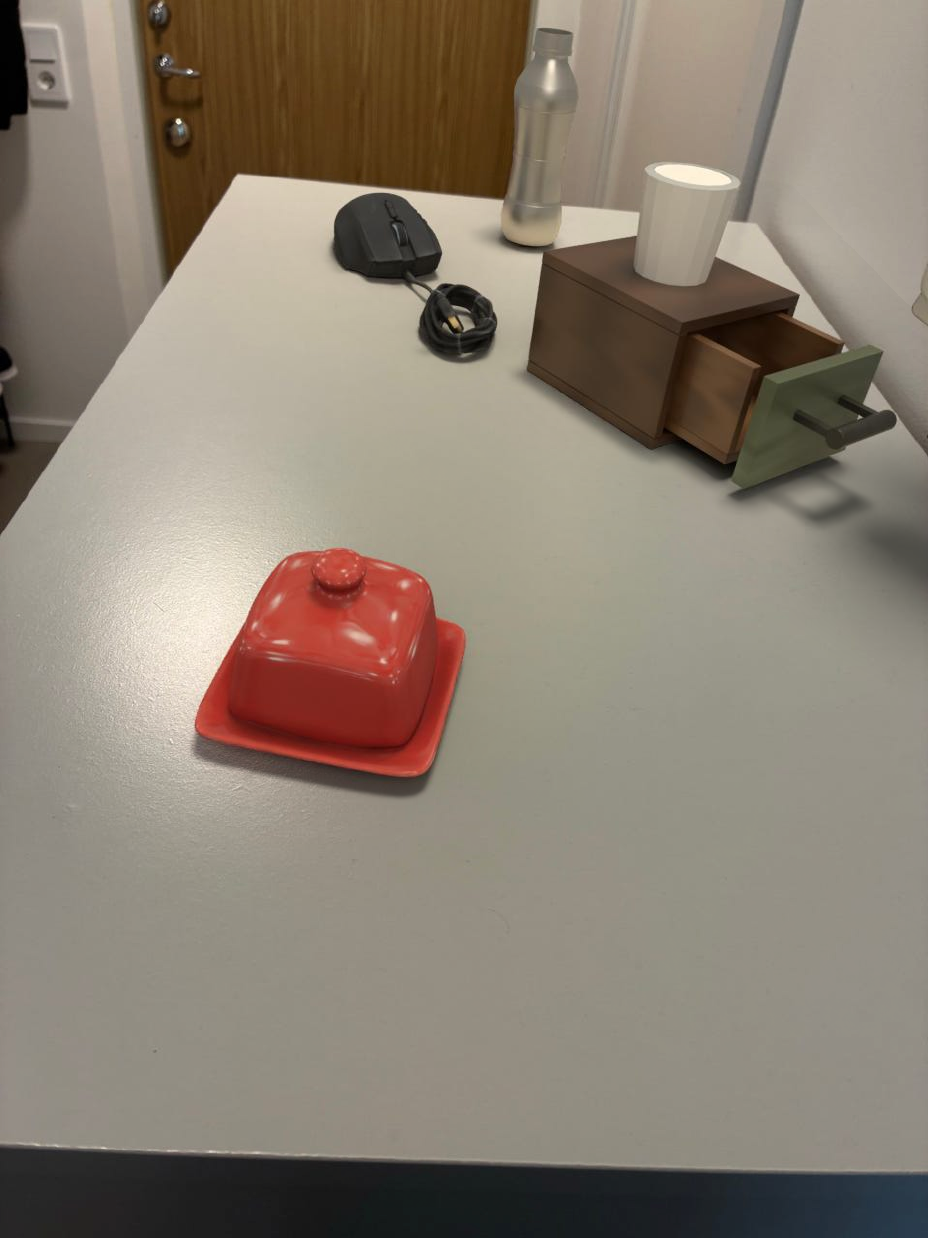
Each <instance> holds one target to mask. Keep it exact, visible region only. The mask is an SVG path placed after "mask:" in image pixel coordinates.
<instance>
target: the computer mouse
mask: <svg viewBox="0 0 928 1238" xmlns="http://www.w3.org/2000/svg"><path fill="white" fill-rule="evenodd" d="M333 248H334V252H335V255H336V256H337V258H338V259H339V260H340V262H341V264H342V265H343V266H344V267H345V268H346V269H348V270H352V271H356V272H360V273H362V274H363V275H365V276H367V277H379V278H397V279H398V278H405V280H407V282H408V283H412V284H415V286H416V285H417V286H419V287H421V288H423V289H425V290H426V291H428V292H429V295H428V297H427V299H426V302H425V305H424V307H423V310H422V311H421V314H420V316H419V319H418V320H419V322H418V323H419V327H420V329H421V331H422V332H423V334H424V335H425V336H426V338H427V340H428V342H429V343H430V345H431V346H432V347H433V348H434V349H436V350H438V351H442V352H447V353H452V354H471V353H472V354H473V353H475V352H477V351H481V350H484V349H486V347H488V346H489V345H490V344H491V343H492V342H493V339H494V336H495V332H496V330H497V328H498V316H497V315H496V313H495V311H494V307H493V306H494V305H493V302H492V301H491V300H490V299H489V298H487V297H485V296H484V295H483V294H482V293H480V292H479V291H478V290H476V289H474V288H473V287H471V286H469V285H466V284H459V283H458V284H453V283H451V282H450V283H447V282H444V283H440V284H439V285H437V287H436V288H435V289H432V287H431V286H429V285H428V284H426V283H425V282H422V281H420V280H418V279H416V278H415V277H417V276H422V275H426V274H430V273H433V272H435V271H437V269H438V267H439V264H440V263H441V260H442V255H443V250H442V247H441V244H440V241H439V238H438V237H437V235H436V233H435V232H434V230H433V229H432V228H431V226H430V225H429V224H428V221H427V220H426V219H425V218H424V217H423V216H422V214H421V213H419V212H418V210H417V209H416V208H415V207H414V206H413V205H412V204H411V203H410V202H409V201H408V200H407V199H406V198H404V197H403V196H400V195H398V194H396V193H390V192H371V193H365V194H362V195H359V196H357V197H354V198H353V199H351V200H350V201H348V202H347V203H345V204H344V205H343V206H341V208H340V209H339V210H338V211H337V213H336V215H335V218H334V221H333ZM453 306H454V307H459V308H463V309H466V310H467V311H469V312H470V313H471V314H472V316H473V318H474V321H475V324H476V326H474V327H472V328H471V327H470V329H467V330H465V331H464V329H465V328H464V327H465V326H464V325H463V323H462V321H461V319H460V318H459V315H458V314H457V311H455V309H454V307H453ZM443 324H445V325H447V328H448V329H449V330H450V332H448V331H446V330H444V329H443V327H442V326H443Z"/></svg>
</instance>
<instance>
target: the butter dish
mask: <svg viewBox="0 0 928 1238" xmlns="http://www.w3.org/2000/svg"><path fill="white" fill-rule="evenodd" d="M434 600H435V599H434V595H433V591H432V588H431V586H430V584H429V582H428V581H427V580H426V578H425V577H423V576H422V575H421V574H419V573H418V572H416V571H414V570H412V569H409V568H406V567H404V566H401V565H398V564H396V563H392V562H389V561H385V560H382V559H379V558H373V557H369V556H365V555H364V556H363V555H361V554H360V553H359V552H357V551H355V550H353V549H349V548H344V547H333V548H328V549H325V550H306V551H297V552H294V553H292V554H289V555H288V556H286V557H284V558H283V559H282V560H281V561H280V562H278V564H277V565H276V566H275V567H274V568H273V570H272V571H271V573H270V574H269V575H268V577H267V578H266V579H265V580H264V583H263V584H262V586H261V588H260V589H259V591H258V593H257V594H256V596H255V598H254V600H253V602H252V604H251V606H250V609H249V611H248V613H247V615H246V618H245V621H244V623H243V624H242V626H241V627H240V629H239V631H238V633H237V634H236V637H235V638H234V640H233V641H232V643H231V645H230V646H229V649H228V650H227V652H226V654H225V656H224V657H223V659H222V661H221V663H220V665H219V666H218V668H217V670H216V672H215V674H214V676H213V678H212V679H211V681H210V683H209V685H208V688H207V689H206V691H205V693H204V695H203V697H202V699H201V702H200V704H199V706H198V709H197V712H196V715H195V719H194V729H195V732H196V733H197V735H199V736H200V737H202V738H204V739H206V740H209V741H212V742H216V743H221V744H223V745H229V746H232V747H239V748H244V749H248V750H253V751H257V752H263V753H268V754H273V755H278V756H283V757H288V758H292V759H297V760H302V761H307V762H313V763H319V764H322V765H327V766H328V765H329V766H334V767H338V768H343V769H348V770H356V771H359V772H365V773H370V774H375V775H383V776H390V777H397V778H416V777H419V776H422V775H424V774H425V773H427V772H428V771H429V769H430V768H431V766H432V765H433V762H434V760H435V758H436V755H437V751H438V748H439V746H440V742H441V738H442V734H443V732H444V727H445V723H446V720H447V717H448V713H449V709H450V706H451V703H452V699H453V696H454V691H455V688H456V683H457V681H458V677H459V674H460V673H459V672H460V669H461V665H462V663H463V659H464V654H465V650H466V642H467V637H466V633H465V630H464V629H463V628H462V627H461V626H460V625H458V624H457V623H455V622H453V621H449V620H448V619H444V618H440V617H437V614H436V609H435V608H436V607H435V601H434Z"/></svg>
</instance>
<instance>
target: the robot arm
mask: <svg viewBox="0 0 928 1238" xmlns="http://www.w3.org/2000/svg"><path fill="white" fill-rule="evenodd" d="M920 280H921V281H920V286H919V290H920V293H919V295H918V296H917V297H916V299H915V300H914V302H913V303H912V306H911V313H912V315H913V316H914V317H915V318H916V319H918V320H919V321H920V322H922V323H923V324H924V325H925V326H926V327H928V261H927V262H926V265H925V268H924V271H923V273H922V277H921V279H920ZM926 438H927V439H928V434H927V435H926Z"/></svg>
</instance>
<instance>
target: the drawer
mask: <svg viewBox="0 0 928 1238" xmlns="http://www.w3.org/2000/svg"><path fill="white" fill-rule="evenodd" d="M845 344H846V342H845V341H844V340H842V339H840V338H837V337H835V336H833V335H831V334H829V333H826V332H824V331H823V330H820V329H818V328H816V327H814V326H811V325H809V324H808V323H805V322H803V321H801V320H799V319H797V318H794V317H793V318H792V317H790V316H788V315H786V314H784V313H782V312H780V311H774V312H770V313H766V314H762V315H758V316H754V317H750V318H745V319H741V320H737V321H733V322H729V323H725V324H721V325H717V326H713V327H709V328H705V329H701V330H697V331H693V332H689V333H687V337H686V341H685V345H684V349H683V353H682V357H681V361H680V365H679V369H678V373H677V377H676V381H675V385H674V389H673V393H672V397H671V401H670V405H669V409H668V413H667V417H666V421H665V425H664V427H665V428H666V429H668V430H669V431H671V432H673V433H674V434H676V435H678V436H679V437H681V438H682V439H681V440H684V441H685V442H688V443H689V444H690V445H692V446H694V447H696V448H697V449H699V450H700V451H702V452H704V453H705V454H707V455H709V456H710V457H712V458H713V459H715V460H716V461H718V462H720V463H721V464H723V465H728V464H729V463H733V462H736V465H735V467H734V469H733V470H734V471H733V472H732V477H731V479H730V480H731V482H732V483H733V484H735V485H736V486H738V487H739V488H741V489H743V490H745V489H748V488H750V487H753V486H755V485H758V484H761V483H764V482H766V481H768V480H771V479H773V478H776V477H779V476H781V475H784V474H787V473H789V472H792V471H795V470H797V469H799V468H800V469H801V468H802V467H805V466H808V465H811V464H813V463H815V462H818V461H821V460H823V459H826V458H828V457H831V456H833V455H836V454H839V453H841V452H844V451H846V448H847V447H848V446H849V447H850V446H851V445H854V444H857V443H860V442H861V441H864V440H867V439H869V438H872V437H875V436H877V435H881V434H883V433H885V432H888V431H890V430H893V429H894V428H895V427H896V425H897V423H898V419H897V418H898V417H897V415H896V413H895V412H894V411H893V410H890V409H883V410H880V411H878V410H875V409H873V408H871V407H870V406H868V405H865V404H864V403H865V400H866V397H867V395H868V393H869V390H870V388H871V385H872V382H873V380H874V377H875V375H876V372H877V370H878V368H879V365H880V362H881V360H882V357H883V354H884V350H883V349H881V348H878V347H876V346H874V345H872V344H867V345H864V346H861V347H858V348H854V349H851V350H847V351H844V352H843V349H844V346H845ZM859 416H860V417H861V418H859ZM858 418H859V419H858Z"/></svg>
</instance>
